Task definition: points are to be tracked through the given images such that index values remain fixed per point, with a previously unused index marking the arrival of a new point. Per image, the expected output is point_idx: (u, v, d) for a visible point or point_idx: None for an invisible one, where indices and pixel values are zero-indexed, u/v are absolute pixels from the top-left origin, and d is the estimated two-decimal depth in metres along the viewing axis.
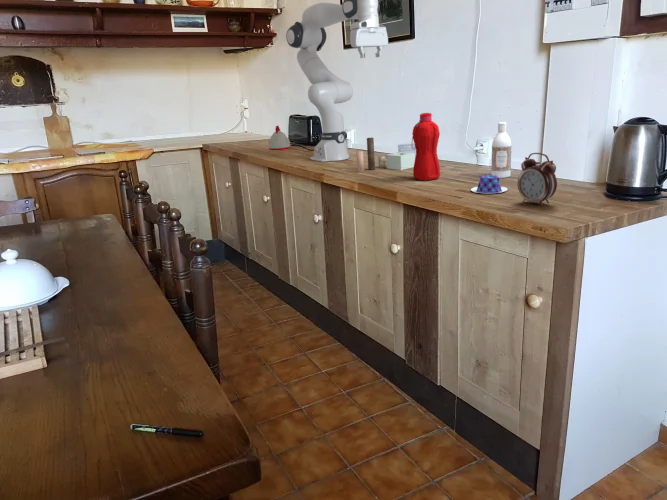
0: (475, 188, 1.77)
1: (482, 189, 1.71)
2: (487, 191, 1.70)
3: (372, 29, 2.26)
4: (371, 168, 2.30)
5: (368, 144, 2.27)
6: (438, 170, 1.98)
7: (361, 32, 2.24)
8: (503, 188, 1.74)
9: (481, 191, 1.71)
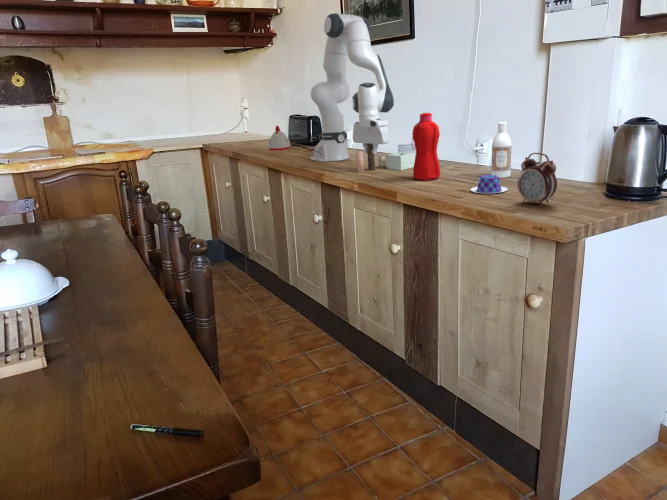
0: (474, 188, 1.77)
1: (483, 189, 1.71)
2: (488, 191, 1.70)
3: None
4: (371, 168, 2.30)
5: (368, 144, 2.27)
6: (438, 170, 1.98)
7: None
8: (502, 188, 1.75)
9: (482, 191, 1.71)
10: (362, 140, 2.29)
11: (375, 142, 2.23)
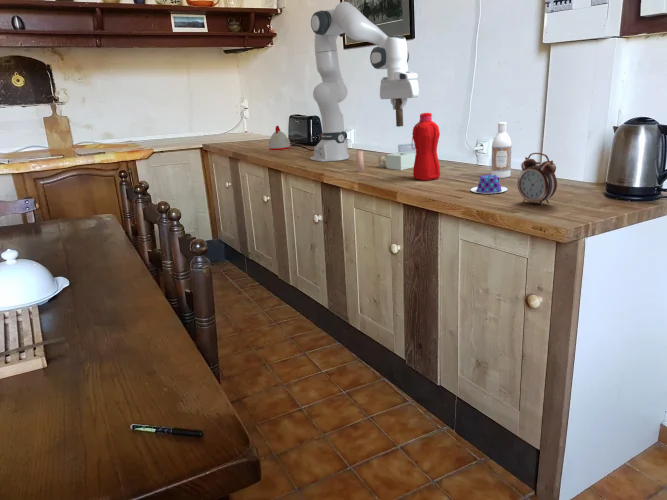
0: (473, 189, 1.77)
1: (484, 189, 1.71)
2: (489, 191, 1.70)
3: None
4: (399, 124, 2.24)
5: (396, 99, 2.21)
6: (438, 170, 1.98)
7: None
8: (501, 187, 1.75)
9: (483, 191, 1.71)
10: (390, 96, 2.23)
11: (404, 96, 2.16)
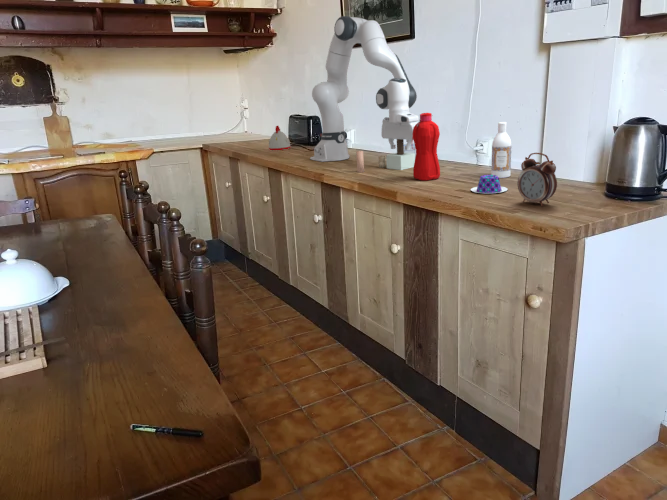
0: (473, 189, 1.76)
1: (485, 189, 1.70)
2: (490, 191, 1.70)
3: None
4: None
5: (398, 142, 2.26)
6: (438, 170, 1.98)
7: None
8: (500, 187, 1.76)
9: (484, 191, 1.71)
10: (391, 136, 2.28)
11: (405, 137, 2.22)
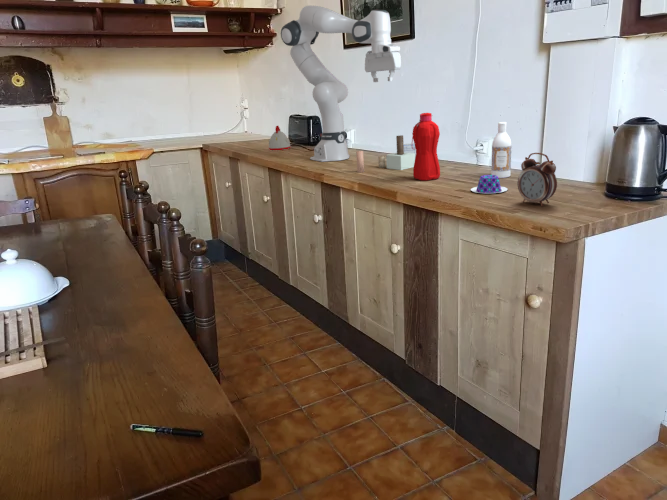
0: (473, 189, 1.76)
1: (486, 189, 1.70)
2: (492, 191, 1.70)
3: None
4: None
5: (397, 142, 2.26)
6: (438, 170, 1.98)
7: None
8: None
9: (486, 191, 1.70)
10: (374, 69, 2.33)
11: (387, 68, 2.27)
